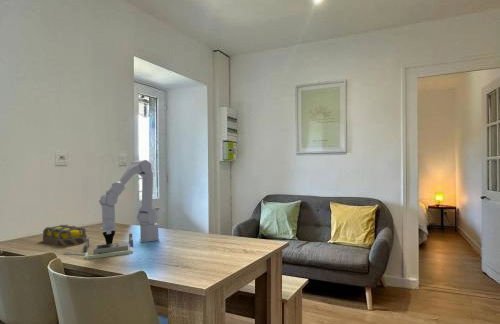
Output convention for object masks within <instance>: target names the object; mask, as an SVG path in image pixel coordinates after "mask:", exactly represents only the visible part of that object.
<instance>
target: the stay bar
mask: <svg viewBox="0 0 500 324" xmlns="http://www.w3.org/2000/svg"><path fill="white" fill-rule="evenodd" d="M86 253H87V252H69V251H68V252H67V251H65V252H63V253H62V255H67V254H71V255H70V256H72V255H73V256H85V254H86Z"/></svg>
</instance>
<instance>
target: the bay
mask: <svg viewBox="0 0 500 324" xmlns="http://www.w3.org/2000/svg"><path fill="white" fill-rule="evenodd" d="M133 252H134V251H133V246H130V247H129V249H128V251H120V252H112V253H104V254H96V255H93V254H90V255H89V252H88V251H87V252H85V253H86V254H85V255H84V260H87V259H88V260H93V259H100V258H106V257H108V258H109V257H115V256H116V255H117V256H124V255H130V254H133Z"/></svg>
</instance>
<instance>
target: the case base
mask: <svg viewBox="0 0 500 324" xmlns="http://www.w3.org/2000/svg"><path fill="white" fill-rule="evenodd" d="M128 240H129V241H128V243H130V244H129V245H130V247H134V239H133V232H129V233H128ZM83 247H84V249H83V250H84V253H87V252H88V249H89V247H90V237H87V238H85V242H84V245H83Z"/></svg>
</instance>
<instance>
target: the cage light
mask: <svg viewBox="0 0 500 324" xmlns="http://www.w3.org/2000/svg"><path fill="white" fill-rule="evenodd" d="M85 238H88V237H87V234H86V228H85V227H84V226H76V225H69V224H59V225H56V226H46V227H45V228H44V229H43V231H42V242H43V243H46V244H50V245H53V244H54V245H53V246H58V245H59V247H68V246H67V245H69V246H75V244H76V245H80V243H81V244H85Z"/></svg>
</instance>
